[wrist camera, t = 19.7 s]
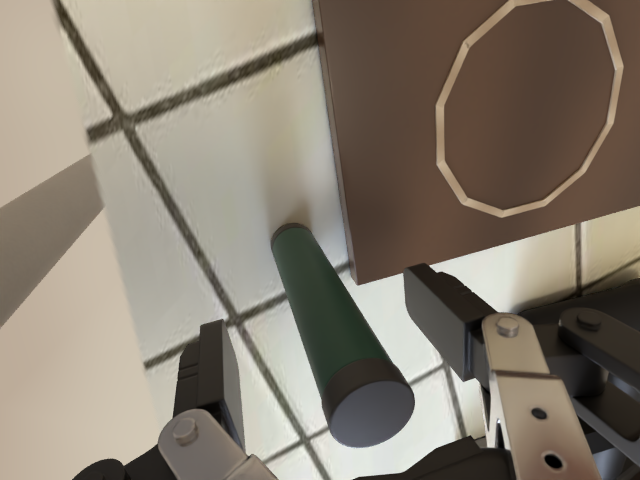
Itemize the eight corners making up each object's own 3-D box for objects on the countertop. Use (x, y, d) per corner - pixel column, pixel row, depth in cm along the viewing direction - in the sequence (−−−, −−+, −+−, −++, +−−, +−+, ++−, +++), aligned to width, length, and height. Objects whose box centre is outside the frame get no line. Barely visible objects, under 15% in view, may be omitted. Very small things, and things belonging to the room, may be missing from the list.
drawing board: (351, 277, 21) (357, 287, 20) (308, -22, 15) (315, -29, 14) (643, 195, 24) (661, 200, 23) (705, -77, 18) (733, -85, 17)
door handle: (467, 533, 31) (638, 478, 32) (477, 343, 22) (708, 283, 24) (447, 493, 34) (605, 444, 35) (449, 311, 25) (656, 260, 27)
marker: (274, 268, 19) (336, 460, 10) (265, 228, 18) (322, 397, 9) (317, 256, 20) (418, 431, 10) (310, 217, 19) (413, 367, 9)
